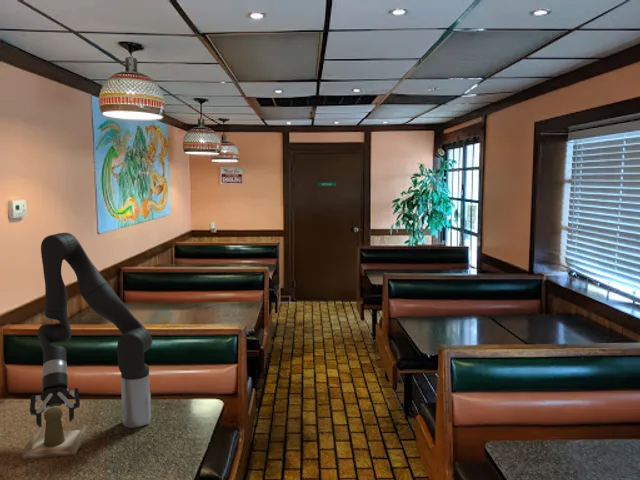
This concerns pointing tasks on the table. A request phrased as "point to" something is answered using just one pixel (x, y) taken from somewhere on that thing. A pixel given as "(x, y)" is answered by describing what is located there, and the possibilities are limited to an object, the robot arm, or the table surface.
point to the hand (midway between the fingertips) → (55, 423)
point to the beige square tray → (65, 449)
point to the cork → (53, 428)
